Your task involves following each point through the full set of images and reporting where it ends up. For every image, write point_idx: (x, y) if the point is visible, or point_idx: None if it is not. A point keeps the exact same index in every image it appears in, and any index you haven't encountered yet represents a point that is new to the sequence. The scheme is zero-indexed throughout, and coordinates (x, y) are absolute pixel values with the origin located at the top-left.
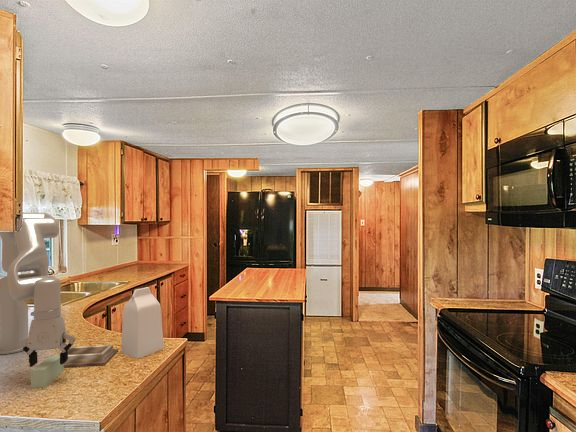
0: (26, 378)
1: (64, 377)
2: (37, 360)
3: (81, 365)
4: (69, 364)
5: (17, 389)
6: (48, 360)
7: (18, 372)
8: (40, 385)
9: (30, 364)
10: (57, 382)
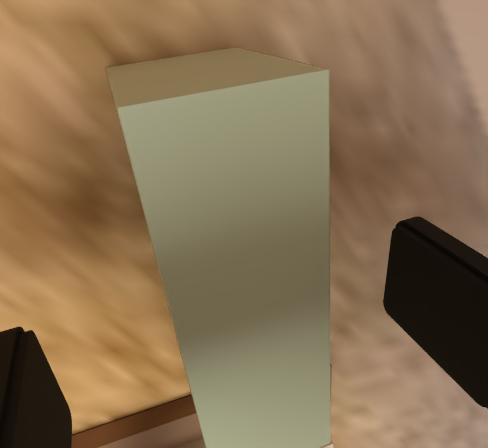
0: (382, 216)
1: (66, 271)
2: (400, 326)
3: (78, 442)
4: (181, 421)
5: (349, 27)
6: (287, 363)
7: None
8: (150, 65)
9: (426, 229)
10: (46, 176)
